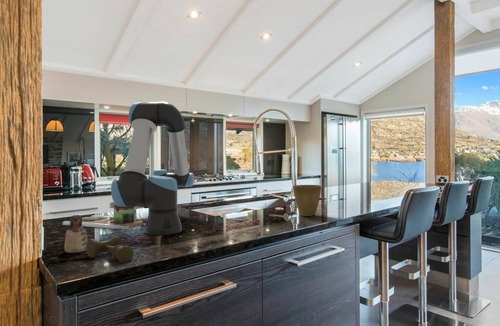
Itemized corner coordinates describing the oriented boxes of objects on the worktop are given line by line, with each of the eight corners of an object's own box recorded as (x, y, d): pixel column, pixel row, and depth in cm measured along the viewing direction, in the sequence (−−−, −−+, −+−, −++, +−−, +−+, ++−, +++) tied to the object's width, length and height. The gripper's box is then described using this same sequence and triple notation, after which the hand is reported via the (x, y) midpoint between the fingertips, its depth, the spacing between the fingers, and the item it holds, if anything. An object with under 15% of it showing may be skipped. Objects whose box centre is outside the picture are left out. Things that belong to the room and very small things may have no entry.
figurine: (89, 246, 121) (88, 212, 121) (86, 251, 114) (86, 215, 114) (66, 248, 119) (66, 213, 119) (62, 253, 112) (62, 217, 112)
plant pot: (321, 213, 188) (321, 184, 188) (321, 218, 173) (320, 186, 173) (294, 212, 191) (294, 184, 191) (291, 217, 177) (291, 186, 176)
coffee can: (126, 227, 154) (126, 196, 154) (108, 225, 158) (108, 195, 158) (141, 223, 164) (141, 193, 164) (124, 221, 168) (124, 193, 168)
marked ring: (148, 222, 166) (148, 219, 166) (127, 228, 151) (127, 225, 151) (122, 220, 170) (122, 217, 170) (100, 226, 156) (100, 223, 156)
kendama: (111, 268, 99) (80, 254, 112) (140, 261, 106) (108, 249, 119) (111, 247, 99) (80, 235, 111) (141, 242, 106) (109, 231, 119)
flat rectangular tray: (152, 221, 167) (152, 218, 167) (126, 229, 149) (126, 226, 149) (93, 218, 179) (93, 215, 179) (62, 224, 161) (62, 221, 161)
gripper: (170, 208, 175) (145, 215, 155) (129, 206, 183) (100, 212, 163) (170, 193, 175) (144, 198, 155) (129, 192, 183) (100, 196, 163)
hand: (122, 205), depth 159 cm, fingers open, 13 cm apart
